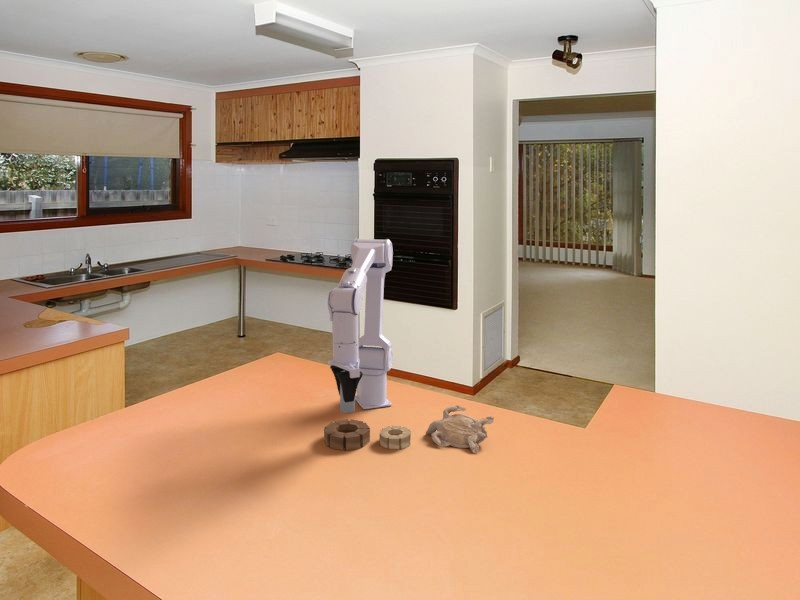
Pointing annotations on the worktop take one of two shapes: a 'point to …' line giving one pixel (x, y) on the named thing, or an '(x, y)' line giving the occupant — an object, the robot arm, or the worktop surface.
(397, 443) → the beige notched ring
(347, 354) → the robot arm
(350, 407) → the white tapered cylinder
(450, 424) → the turtle
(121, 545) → the worktop surface
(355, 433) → the brown segmented ring
